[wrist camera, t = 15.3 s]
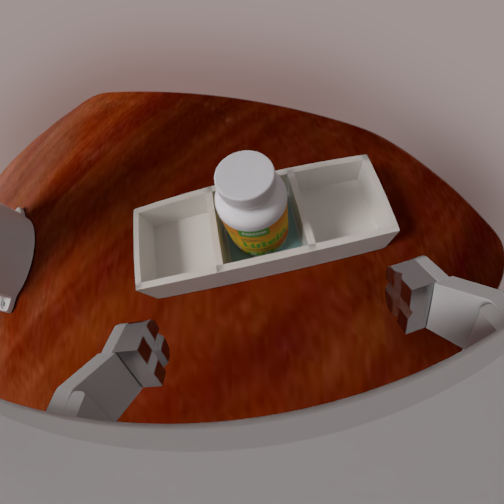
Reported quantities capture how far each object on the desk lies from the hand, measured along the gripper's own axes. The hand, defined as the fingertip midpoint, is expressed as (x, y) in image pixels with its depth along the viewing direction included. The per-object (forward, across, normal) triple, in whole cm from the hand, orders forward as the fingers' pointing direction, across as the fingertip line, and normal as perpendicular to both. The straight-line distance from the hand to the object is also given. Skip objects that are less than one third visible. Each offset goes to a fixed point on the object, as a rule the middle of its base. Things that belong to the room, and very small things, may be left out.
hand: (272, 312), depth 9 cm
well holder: (+18, 0, +5) cm, 19 cm away
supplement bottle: (+17, 0, +4) cm, 18 cm away
